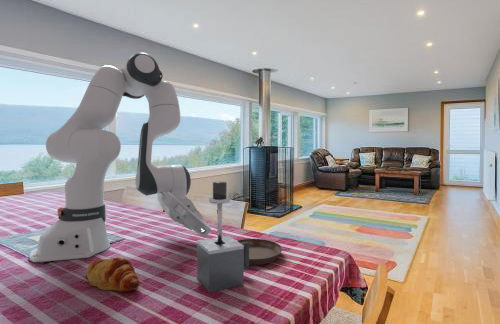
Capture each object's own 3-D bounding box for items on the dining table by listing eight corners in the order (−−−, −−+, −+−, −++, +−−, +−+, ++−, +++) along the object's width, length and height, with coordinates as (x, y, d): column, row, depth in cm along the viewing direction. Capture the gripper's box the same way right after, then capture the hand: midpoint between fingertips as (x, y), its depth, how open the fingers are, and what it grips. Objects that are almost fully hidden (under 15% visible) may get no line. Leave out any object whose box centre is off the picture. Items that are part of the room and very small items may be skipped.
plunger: (213, 247, 78) (213, 184, 77) (206, 241, 82) (206, 181, 81) (233, 244, 80) (233, 183, 79) (225, 238, 85) (225, 180, 84)
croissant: (80, 288, 86) (64, 267, 82) (111, 260, 92) (97, 239, 89) (128, 311, 73) (111, 287, 70) (159, 277, 80) (145, 254, 77)
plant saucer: (266, 273, 88) (266, 262, 88) (213, 260, 97) (213, 250, 96) (290, 253, 103) (291, 244, 103) (243, 244, 112) (243, 235, 112)
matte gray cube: (209, 292, 76) (209, 251, 75) (197, 277, 84) (197, 240, 83) (255, 282, 82) (256, 243, 81) (240, 269, 90) (240, 234, 89)
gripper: (166, 183, 106) (180, 195, 95) (204, 218, 117) (221, 233, 105) (152, 197, 105) (164, 212, 93) (192, 231, 115) (208, 248, 104)
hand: (195, 223), depth 100 cm, fingers open, 8 cm apart
